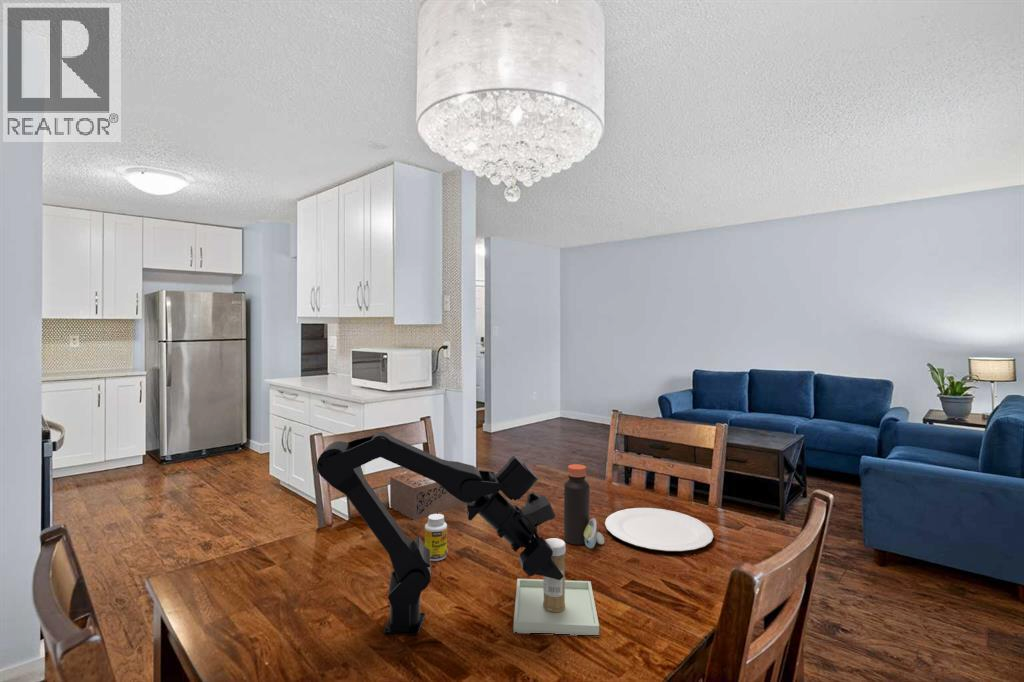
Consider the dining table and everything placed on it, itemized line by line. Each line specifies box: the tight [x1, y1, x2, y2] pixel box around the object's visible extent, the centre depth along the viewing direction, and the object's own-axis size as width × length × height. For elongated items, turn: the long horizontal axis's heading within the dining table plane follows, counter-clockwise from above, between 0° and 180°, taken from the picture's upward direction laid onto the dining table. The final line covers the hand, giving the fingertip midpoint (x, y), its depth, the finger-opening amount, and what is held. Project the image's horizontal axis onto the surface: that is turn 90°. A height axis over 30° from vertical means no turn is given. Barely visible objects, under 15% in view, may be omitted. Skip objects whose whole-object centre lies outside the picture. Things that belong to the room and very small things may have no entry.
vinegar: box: [563, 463, 591, 546], centre depth 132 cm, size 7×7×20 cm
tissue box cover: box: [389, 471, 467, 521], centre depth 159 cm, size 26×14×10 cm, turn 132°
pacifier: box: [584, 517, 605, 549], centre depth 129 cm, size 7×6×6 cm
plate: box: [604, 507, 715, 553], centre depth 138 cm, size 29×29×2 cm
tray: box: [513, 578, 600, 636], centre depth 100 cm, size 16×16×2 cm
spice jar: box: [542, 537, 567, 612], centre depth 100 cm, size 5×5×13 cm
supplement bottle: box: [424, 513, 448, 562], centre depth 122 cm, size 6×6×10 cm
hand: (555, 566), depth 100 cm, fingers open, 9 cm apart
